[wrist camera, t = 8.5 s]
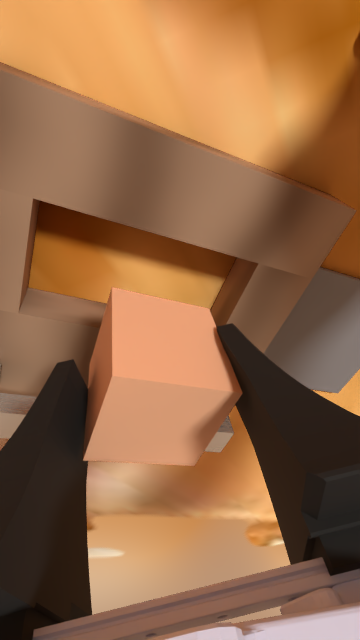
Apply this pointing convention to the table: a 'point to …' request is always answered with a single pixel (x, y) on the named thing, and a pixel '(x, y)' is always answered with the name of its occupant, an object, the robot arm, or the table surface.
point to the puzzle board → (141, 220)
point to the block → (156, 382)
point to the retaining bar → (10, 409)
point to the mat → (321, 333)
